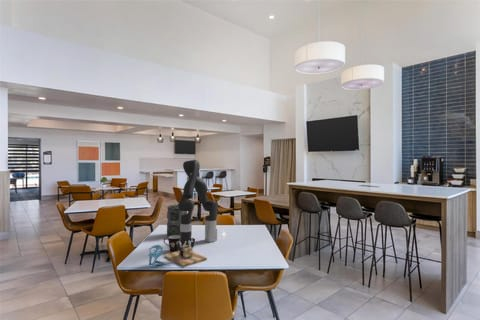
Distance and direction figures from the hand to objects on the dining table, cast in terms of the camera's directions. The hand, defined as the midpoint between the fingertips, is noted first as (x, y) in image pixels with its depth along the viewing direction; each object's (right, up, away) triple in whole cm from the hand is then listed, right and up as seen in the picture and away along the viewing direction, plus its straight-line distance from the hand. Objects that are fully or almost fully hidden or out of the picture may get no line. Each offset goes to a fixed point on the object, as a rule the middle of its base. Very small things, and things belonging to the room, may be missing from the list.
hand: (185, 255), depth 182 cm
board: (0, -2, 0) cm, 2 cm away
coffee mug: (-13, -2, +16) cm, 21 cm away
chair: (-17, -2, -11) cm, 20 cm away
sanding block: (0, -1, 0) cm, 1 cm away
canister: (-19, -2, +54) cm, 58 cm away
